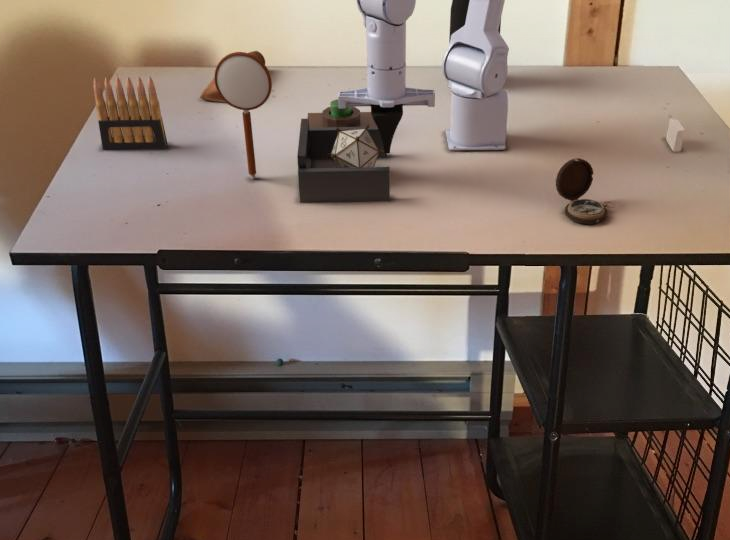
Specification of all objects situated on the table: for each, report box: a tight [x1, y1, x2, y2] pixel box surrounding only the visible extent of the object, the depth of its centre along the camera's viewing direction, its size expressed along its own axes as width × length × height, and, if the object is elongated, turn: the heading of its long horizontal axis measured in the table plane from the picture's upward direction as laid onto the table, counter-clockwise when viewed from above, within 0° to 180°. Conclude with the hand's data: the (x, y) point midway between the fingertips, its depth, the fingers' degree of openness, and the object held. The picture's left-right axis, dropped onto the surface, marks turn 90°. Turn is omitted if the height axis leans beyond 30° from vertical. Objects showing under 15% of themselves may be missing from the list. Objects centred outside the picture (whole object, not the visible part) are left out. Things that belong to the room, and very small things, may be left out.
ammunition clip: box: [93, 76, 168, 151], centre depth 154 cm, size 11×2×12 cm, turn 91°
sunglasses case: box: [199, 50, 266, 104], centre depth 179 cm, size 18×7×7 cm
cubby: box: [297, 118, 391, 203], centre depth 147 cm, size 14×16×7 cm
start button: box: [329, 98, 352, 117], centre depth 160 cm, size 4×4×2 cm
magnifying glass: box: [213, 51, 273, 180], centre depth 142 cm, size 9×2×20 cm, turn 83°
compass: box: [555, 157, 616, 225], centre depth 137 cm, size 8×8×7 cm
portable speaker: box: [448, 0, 502, 50], centre depth 174 cm, size 9×9×20 cm
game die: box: [326, 124, 384, 168], centre depth 146 cm, size 9×8×10 cm
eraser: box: [665, 118, 686, 153], centre depth 156 cm, size 1×5×4 cm, turn 1°
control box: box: [306, 106, 377, 128], centre depth 162 cm, size 12×9×4 cm
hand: (386, 150), depth 146 cm, fingers closed
